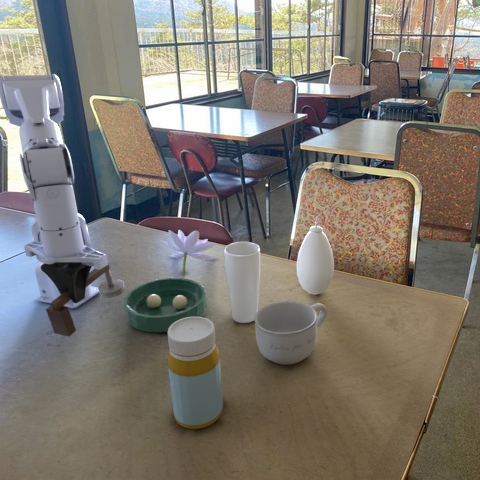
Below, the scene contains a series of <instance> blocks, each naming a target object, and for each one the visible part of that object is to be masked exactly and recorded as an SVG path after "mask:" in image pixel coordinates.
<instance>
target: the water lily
mask: <svg viewBox="0 0 480 480" xmlns="http://www.w3.org/2000/svg"><path fill="white" fill-rule="evenodd" d="M168 235H169V237H170V239H171V241H172V242H173V243H174V245H173V244H172V243H170V242H168V241H166V240H163V239H159V241H160V243H161V244H163V245H164V246H166V247H168V248H170V249H171V250H173V251H176V252H174V253H172V254H171V255H170V257H171V258H172V259H182V258H183V259H182V260H183V261H182V262H183V263H182V270H181V273H182V274H185V273H186V263H187V258H188V257H187V256H189V257H192V258H194V259H197V260H204V261H213V260H214V257H212V256H211V255H208V254H203V252H205V251H208V250H210V249H212V248H213V247H215V246H217V243H216V242H208V240H209V239H208V238H204V239H202V240H199V239H200V232H199V231H198V230H193V231H191V232H190V233H189V234H188V235H187V236H186V235H185V234H184V232H183V231H182V230H181V229H178V231H177V233H175V232H173V231H172V230H170V229H168Z"/></svg>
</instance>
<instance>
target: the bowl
mask: <svg viewBox="0 0 480 480" xmlns="http://www.w3.org/2000/svg"><path fill="white" fill-rule="evenodd" d="M152 294H156V295H158V296H159V297H160V298H161V304H160V306H159V307H157V308H150V307H149V306H148V305H147V303H146V300H147V298H148V297H149V296H150V295H152ZM178 295H182V296H184V297H186V299H187V305H186V307H185V308H183V309H176V308H175V307H174V306H173V299H174V298H175V297H176V296H178ZM123 299H124V300H123V309H124V315H125V320H126V321H127V323H128V324H129V325H130V326H131V327H133V328H134V329H136V330H138V331H143V332H148V333H167V332H168V329H169V327H170V326H171V325H172V324H173V323H174V322H176V321H178V320H180V319H183V318H186V317H203V316H204V315H205V314H206V311H207V308H208V304H207V293H206V290H205V287H204V286H203V285H201V283H200V282H197V281H195V280H193V279H189V278H184V277H167V278H158V279H154V280H150V281H147V282H145V283H142V284H140V285H138V286H135V287H134V288H133V289H132V290H130V291H129V292H128V293H127V294H126V296H125V297H124V298H123Z"/></svg>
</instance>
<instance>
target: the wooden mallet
mask: <svg viewBox="0 0 480 480" xmlns="http://www.w3.org/2000/svg"><path fill="white" fill-rule="evenodd" d="M103 274H104V277H105V281H103V282H101V283H100V284H99V286H98V287H97V288H98V289H99V293H98V294H99V295H100V297H101V298H104V299H112V298H115V297H118V296H121V295H122V294H123V293H124V292H125V290H126V287H125V283H124V281H123V280H121V279H119V278H113V277H112V273H111V267H110V263H109V262H108V265H107V266H105V267H104V268H102V269H100V270H98V269H95V268H93V269H91V270H90V272H89V275H88V279H87V283H86V287H87V286H89V285H90V284H91V285H92V283H94V282H95V281H96V280H97V279H99V278H100V277H101V276H102V275H103ZM70 300H71V297H70V294H69V290H66V291H65V292H64V293H62V294H61V295H60V296H59V297H57V298H56V299H55V300H53V301H52V302H51V303H50V305H49V307H47V308H45V311H46V314H47V316H48V319H49V322H50V325H51V327H52V330H53V333H54V334H55V335H61V336H65V337H71V336H72V335H73V334H74V333H75V332H76V331H77V329H76V326H75V323H74V320H73V317H72V315H71V311H70V308H69V307H66V306H64V305H65V304H66V303H67V302H69V301H70Z"/></svg>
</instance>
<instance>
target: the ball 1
mask: <svg viewBox="0 0 480 480" xmlns="http://www.w3.org/2000/svg"><path fill="white" fill-rule="evenodd" d="M146 303H147V305H148V306H149V307H150V308H157V307H159V306H160V304H161V298H160V297H159V296H158V295H156V294H152V295H150V296H149V297H148V298H147V300H146Z"/></svg>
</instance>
